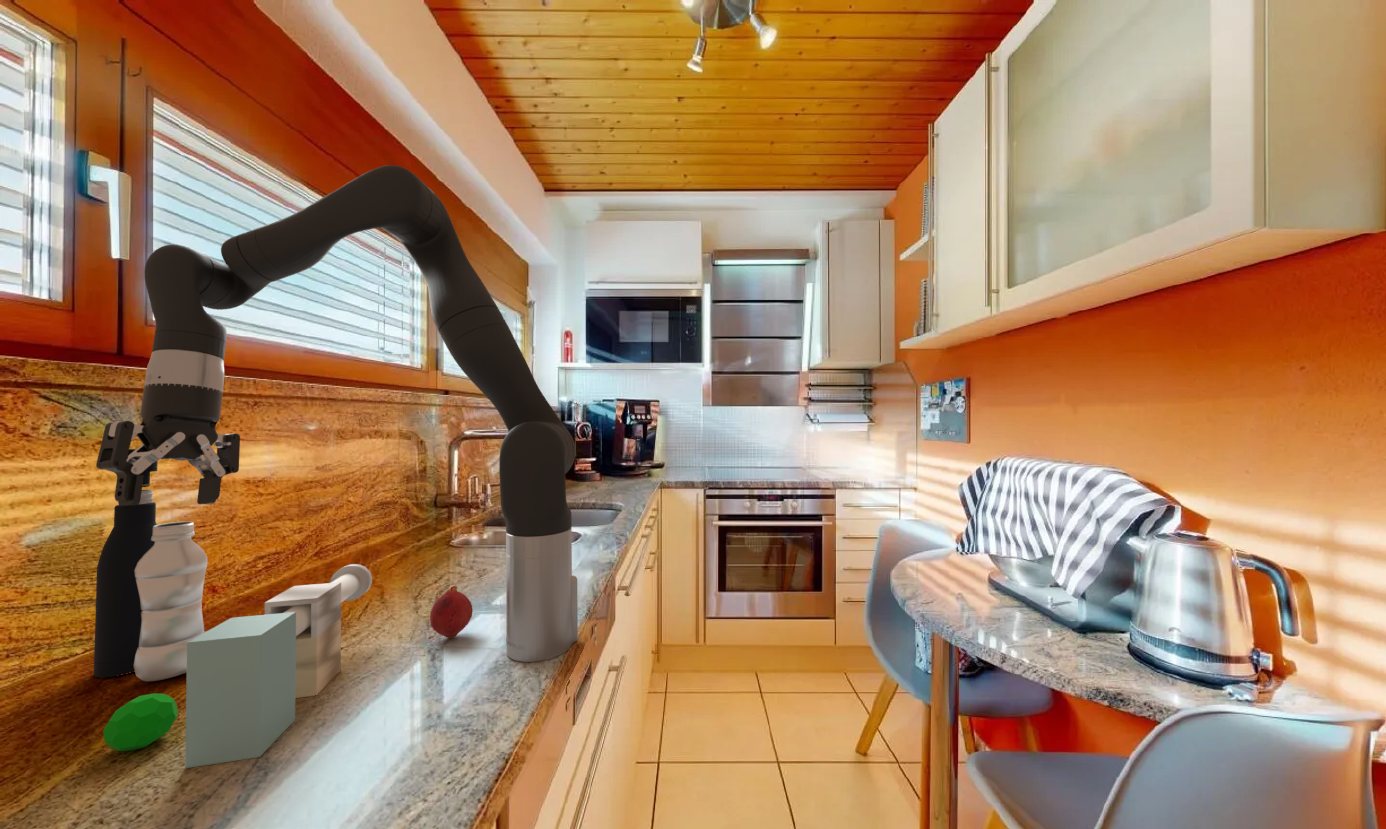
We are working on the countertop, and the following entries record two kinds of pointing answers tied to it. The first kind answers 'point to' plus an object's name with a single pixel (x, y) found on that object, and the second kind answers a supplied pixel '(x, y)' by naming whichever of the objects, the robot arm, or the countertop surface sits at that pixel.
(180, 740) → the countertop surface
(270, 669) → the socket
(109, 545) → the wine bottle
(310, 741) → the countertop surface
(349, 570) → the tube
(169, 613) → the plastic bottle
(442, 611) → the onion
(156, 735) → the polyhedron
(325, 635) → the sleeve stand
